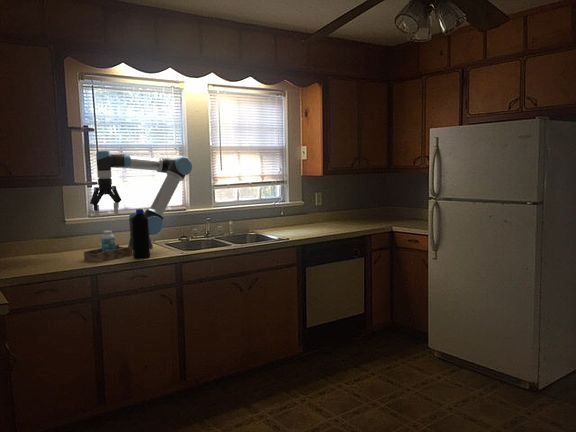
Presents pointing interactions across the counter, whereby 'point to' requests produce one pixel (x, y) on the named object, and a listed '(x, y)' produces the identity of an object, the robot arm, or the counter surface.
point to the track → (107, 254)
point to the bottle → (140, 235)
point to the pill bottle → (108, 241)
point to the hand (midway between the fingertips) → (107, 215)
